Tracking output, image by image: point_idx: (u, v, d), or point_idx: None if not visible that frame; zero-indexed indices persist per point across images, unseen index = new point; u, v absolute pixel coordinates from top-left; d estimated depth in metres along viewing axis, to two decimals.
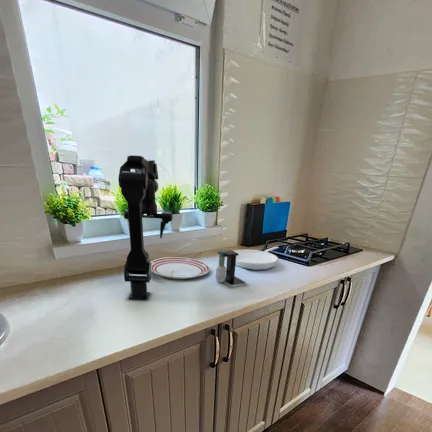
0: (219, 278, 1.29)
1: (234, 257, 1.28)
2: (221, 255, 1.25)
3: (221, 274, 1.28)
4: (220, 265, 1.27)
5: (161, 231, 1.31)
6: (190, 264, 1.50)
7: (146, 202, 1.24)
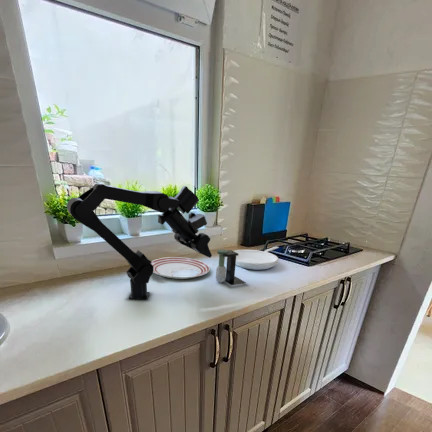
0: (219, 278, 1.29)
1: (234, 257, 1.28)
2: (221, 255, 1.25)
3: (221, 274, 1.28)
4: (220, 265, 1.27)
5: (203, 254, 1.16)
6: (190, 264, 1.50)
7: (176, 233, 1.13)
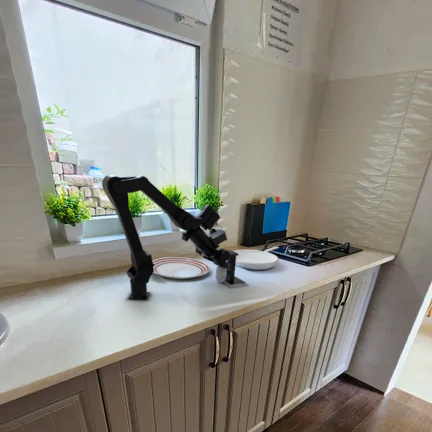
0: (219, 278, 1.29)
1: (234, 257, 1.28)
2: None
3: (221, 274, 1.28)
4: None
5: (221, 266, 1.25)
6: (190, 264, 1.50)
7: (198, 249, 1.20)
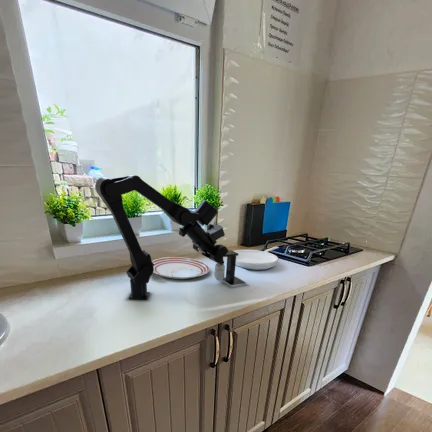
0: (218, 276, 1.28)
1: (234, 257, 1.28)
2: None
3: (220, 272, 1.28)
4: None
5: None
6: (190, 264, 1.50)
7: (196, 244, 1.19)
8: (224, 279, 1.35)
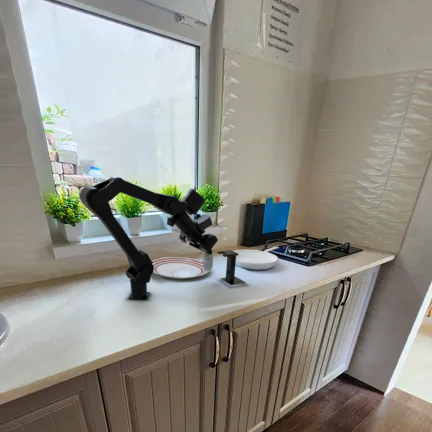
0: (206, 266, 1.27)
1: (234, 257, 1.28)
2: None
3: (208, 262, 1.27)
4: (207, 253, 1.26)
5: None
6: (190, 264, 1.50)
7: (184, 234, 1.17)
8: (224, 279, 1.35)
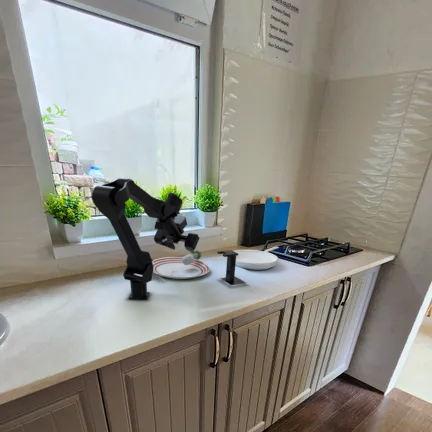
0: (189, 257, 1.40)
1: (234, 257, 1.28)
2: (197, 254, 1.48)
3: (191, 258, 1.42)
4: (193, 256, 1.45)
5: (190, 251, 1.32)
6: (190, 264, 1.50)
7: (167, 236, 1.24)
8: (224, 279, 1.35)
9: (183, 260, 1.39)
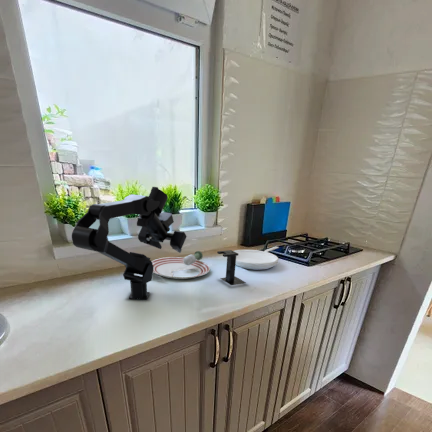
0: (191, 259, 1.40)
1: (234, 257, 1.28)
2: (199, 255, 1.48)
3: (193, 260, 1.42)
4: (195, 257, 1.44)
5: (177, 251, 1.23)
6: None
7: (152, 234, 1.15)
8: (224, 279, 1.35)
9: (185, 260, 1.39)
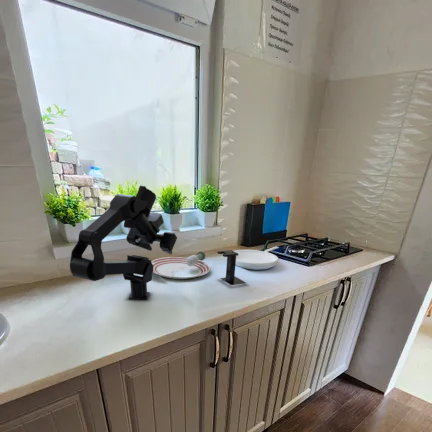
0: (194, 263, 1.40)
1: (234, 257, 1.28)
2: (201, 257, 1.47)
3: (195, 263, 1.42)
4: (198, 259, 1.44)
5: None
6: None
7: (140, 236, 1.09)
8: (224, 279, 1.35)
9: (189, 261, 1.39)
